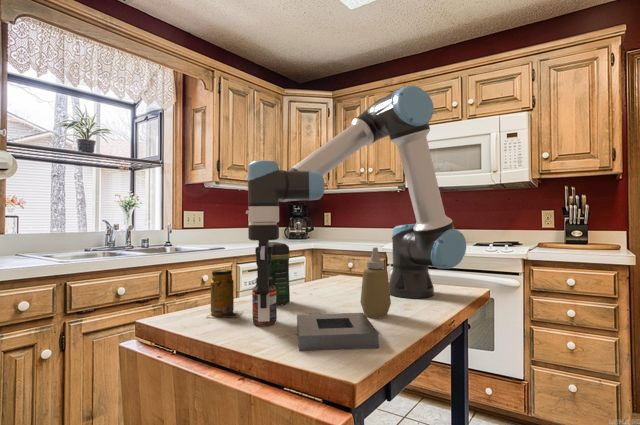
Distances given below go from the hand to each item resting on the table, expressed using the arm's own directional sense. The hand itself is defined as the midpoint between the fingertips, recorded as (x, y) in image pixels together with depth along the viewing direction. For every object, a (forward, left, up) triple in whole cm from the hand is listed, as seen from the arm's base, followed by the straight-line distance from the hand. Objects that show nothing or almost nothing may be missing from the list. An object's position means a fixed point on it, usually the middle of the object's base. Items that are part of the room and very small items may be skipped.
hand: (264, 317), depth 95 cm
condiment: (+11, -10, -2) cm, 15 cm away
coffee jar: (-2, -22, -2) cm, 22 cm away
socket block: (-16, +12, -2) cm, 20 cm away
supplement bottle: (0, 0, -2) cm, 2 cm away
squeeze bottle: (-29, -4, -2) cm, 29 cm away
